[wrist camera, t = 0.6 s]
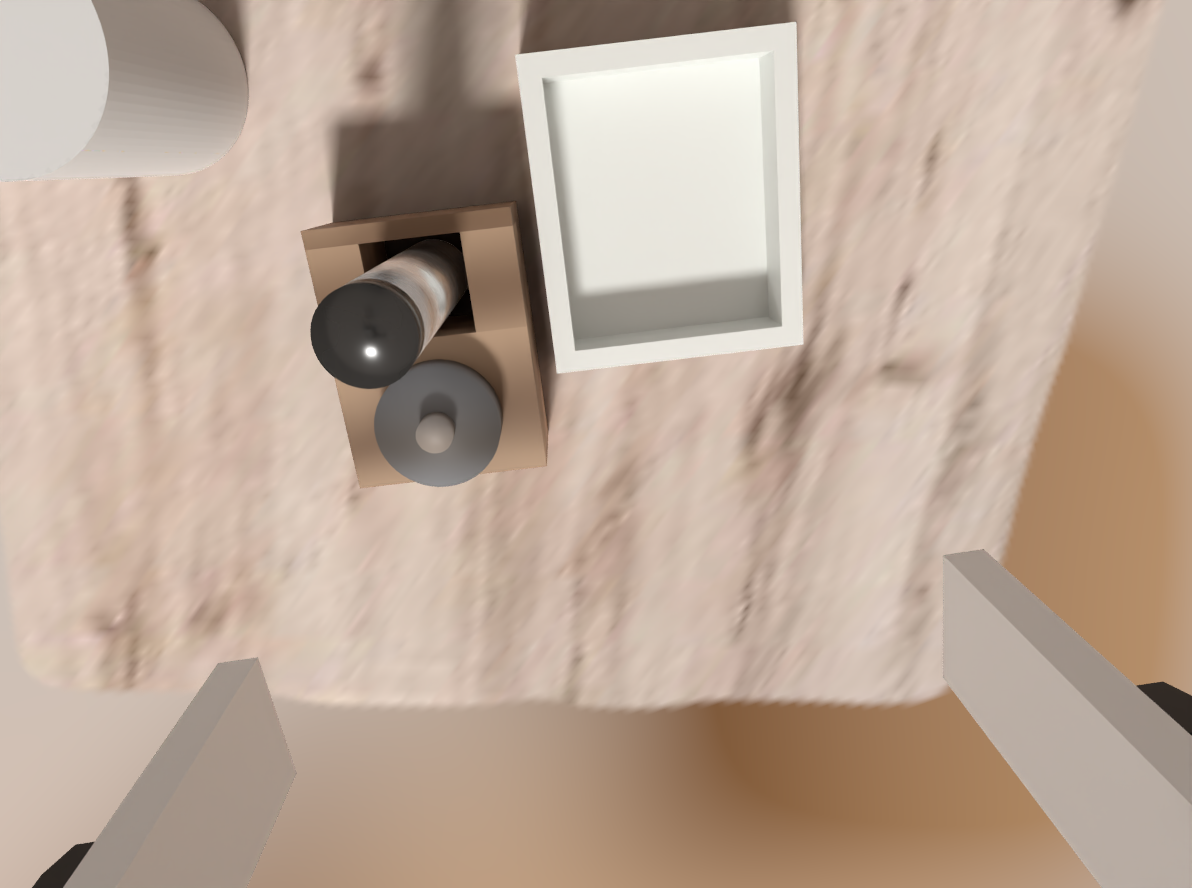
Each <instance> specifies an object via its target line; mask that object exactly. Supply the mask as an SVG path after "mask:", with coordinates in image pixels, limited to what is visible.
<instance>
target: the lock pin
mask: <svg viewBox="0 0 1192 888" xmlns="http://www.w3.org/2000/svg"><path fill="white" fill-rule="evenodd" d="M467 287H468V279H467V273H466V267H465V261H464V256H463V254H462V253H461V252H460V251H459V250H458V249H457V248H456V247H455V246H454V245H452V244H450V243H448V242H446V241H443V240H439V239H427V240H423V241H420V242H418V243H416V244H415V245H413V246H411V247H409V248H408V249H406V250H404V251H402V252H401V253H399V254H397V255H395V256H394V257H392V258H390V259H388V260H387V261H385V262H383V263H381V264H380V265H378V266H376V267H374V268H373V269H371V270H369V271H367V272H366V273H364V274H362V275H360V276H359V277H357V278H355V279H353V280H352V281H350V282H348V283H346V284H345V285H343V286H341V287H339V288H338V289H336V290H334V291H333V292H331V293H330V294H328V295H327V296H326V297H325V298H324V299H323V300H322V301H321V303H320V304H319V305H318V307H317V309H316V310H315V313H314V315H313V318H312V322H311V341H312V346H313V349H314V352H315V354H316V356H317V358H318V360H319V361H320V363H321V364H322V366H323V367H324V368H325V369H326V370H327V371H328V372H329V373H330V374H331V375H332V376H333V377H335V378H336V379H338V380H339V381H341V382H343V383H345V384H347V385H350V386H353V387H357V388H362V389H377V388H382V387H385V386H388V385H391V384H393V383H395V382H396V381H398V380H399V379H401V378H402V377H403V376H404V375H405V374H406V373H407V372H408V371H409V370H410V368H411V367H412V365H413V364H414V363H415V361H416V360H417V358H418V357H419V356H420V354H421V353H422V352H423V350H424V349H425V347H426V346H427V345H428V343H429V342H430V340H431V339H432V338H433V336H434V335H435V334H436V332H437V331H438V329H439V328H440V327H441V325H442V324H443V322H444V321H445V320H446V318H447V317H448V316H449V314H450V313H451V311H452V310H453V309H454V307H455V306H456V304H457V303H458V302H459V300H460V299H461V297H462V296H463V295H464V293H465V292H466V289H467Z"/></svg>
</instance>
